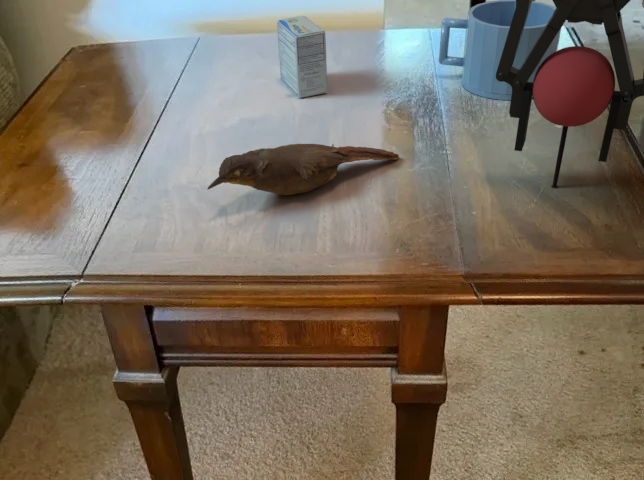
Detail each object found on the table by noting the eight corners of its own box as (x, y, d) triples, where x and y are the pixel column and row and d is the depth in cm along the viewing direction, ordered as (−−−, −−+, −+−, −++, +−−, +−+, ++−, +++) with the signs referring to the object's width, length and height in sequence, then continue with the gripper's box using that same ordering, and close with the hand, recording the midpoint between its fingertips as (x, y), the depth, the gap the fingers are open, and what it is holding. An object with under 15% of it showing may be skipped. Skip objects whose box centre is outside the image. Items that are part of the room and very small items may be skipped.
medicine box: (328, 93, 107) (327, 30, 101) (298, 99, 105) (295, 35, 100) (308, 75, 112) (306, 14, 107) (279, 80, 111) (276, 19, 106)
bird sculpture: (408, 184, 90) (415, 143, 87) (220, 219, 78) (221, 172, 75) (375, 165, 95) (380, 126, 92) (191, 195, 82) (191, 150, 80)
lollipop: (605, 194, 82) (639, 55, 73) (543, 209, 80) (569, 67, 71) (563, 164, 88) (589, 31, 78) (505, 177, 86) (524, 42, 76)
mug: (556, 71, 110) (568, 3, 104) (544, 104, 101) (556, 31, 95) (447, 61, 114) (452, -5, 109) (427, 92, 106) (431, 21, 100)
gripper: (734, -94, 67) (666, 148, 81) (494, -100, 73) (470, 124, 87) (738, -75, 61) (665, 180, 75) (479, -84, 68) (456, 153, 82)
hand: (561, 150), depth 81 cm, fingers closed on lollipop, 8 cm apart
